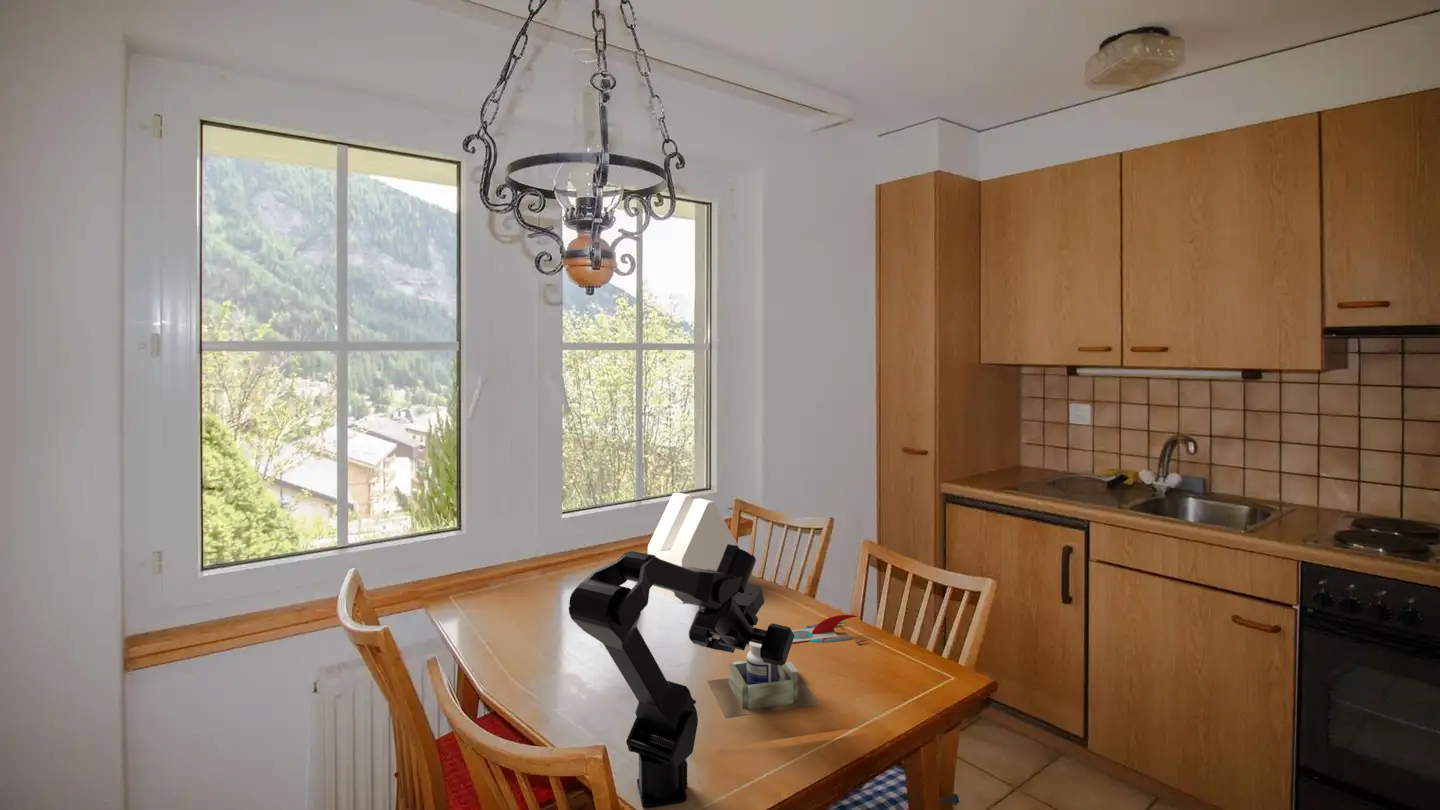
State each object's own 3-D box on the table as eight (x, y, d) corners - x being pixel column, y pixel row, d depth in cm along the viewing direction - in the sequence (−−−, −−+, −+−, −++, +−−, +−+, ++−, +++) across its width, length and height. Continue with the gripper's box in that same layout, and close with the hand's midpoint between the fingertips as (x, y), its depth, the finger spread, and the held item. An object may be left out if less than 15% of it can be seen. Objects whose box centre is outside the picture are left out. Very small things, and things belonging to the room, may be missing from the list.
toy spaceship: (754, 671, 148) (752, 648, 147) (734, 649, 158) (733, 627, 158) (868, 643, 157) (867, 621, 156) (842, 624, 167) (841, 603, 167)
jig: (725, 723, 124) (725, 695, 123) (707, 685, 137) (706, 660, 137) (821, 709, 128) (821, 683, 128) (794, 674, 142) (794, 650, 141)
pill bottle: (765, 682, 137) (765, 632, 136) (783, 695, 132) (783, 643, 131) (740, 690, 134) (740, 639, 133) (758, 703, 129) (758, 650, 128)
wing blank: (783, 683, 136) (783, 673, 136) (776, 673, 140) (776, 663, 140) (798, 681, 137) (798, 671, 137) (790, 671, 141) (790, 661, 141)
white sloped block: (682, 603, 181) (681, 507, 178) (648, 588, 192) (647, 497, 190) (738, 587, 193) (738, 497, 191) (703, 573, 205) (702, 488, 203)
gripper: (790, 583, 119) (815, 625, 129) (697, 565, 129) (727, 606, 139) (768, 645, 113) (796, 684, 123) (672, 621, 123) (706, 660, 133)
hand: (755, 655), depth 130 cm, fingers open, 9 cm apart
